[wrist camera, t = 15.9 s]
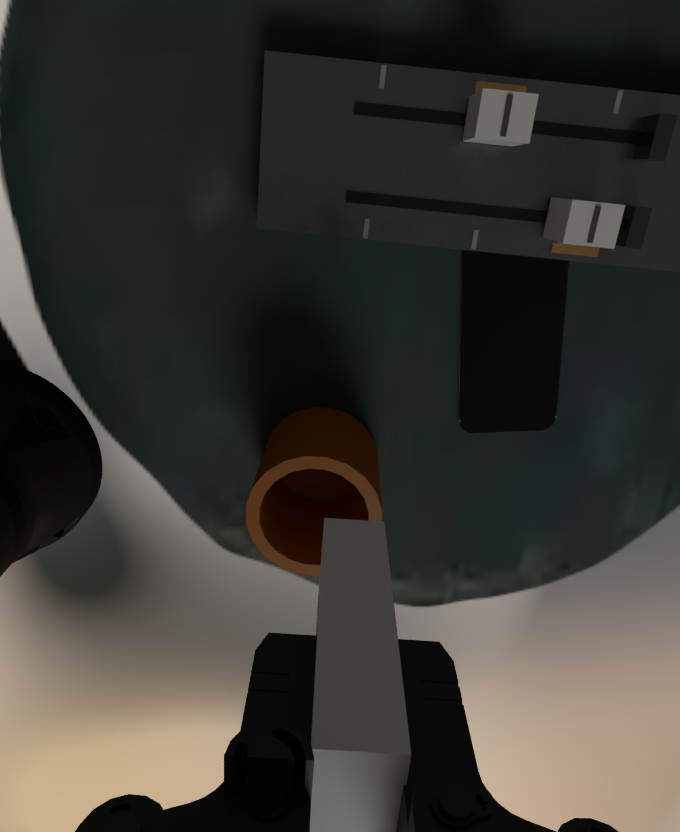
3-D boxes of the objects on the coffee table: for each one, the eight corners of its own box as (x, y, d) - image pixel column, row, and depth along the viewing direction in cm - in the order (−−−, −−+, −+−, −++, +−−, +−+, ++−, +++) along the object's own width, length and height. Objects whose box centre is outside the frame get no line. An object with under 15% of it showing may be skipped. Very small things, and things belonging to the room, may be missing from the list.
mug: (279, 546, 51) (262, 619, 42) (256, 411, 46) (232, 462, 38) (387, 538, 50) (392, 611, 42) (374, 400, 46) (376, 450, 37)
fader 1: (462, 141, 37) (475, 137, 33) (469, 96, 36) (483, 87, 32) (511, 146, 37) (530, 143, 33) (519, 102, 36) (539, 93, 32)
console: (260, 226, 41) (251, 231, 37) (269, 56, 37) (259, 43, 34) (671, 268, 42) (702, 277, 38) (718, 104, 38) (758, 97, 34)
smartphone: (573, 220, 40) (556, 430, 46) (569, 219, 41) (553, 426, 46) (462, 226, 41) (458, 433, 46) (460, 225, 41) (456, 430, 47)
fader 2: (542, 237, 39) (563, 243, 35) (550, 197, 38) (573, 199, 34) (589, 241, 39) (615, 249, 35) (598, 202, 38) (626, 205, 34)
